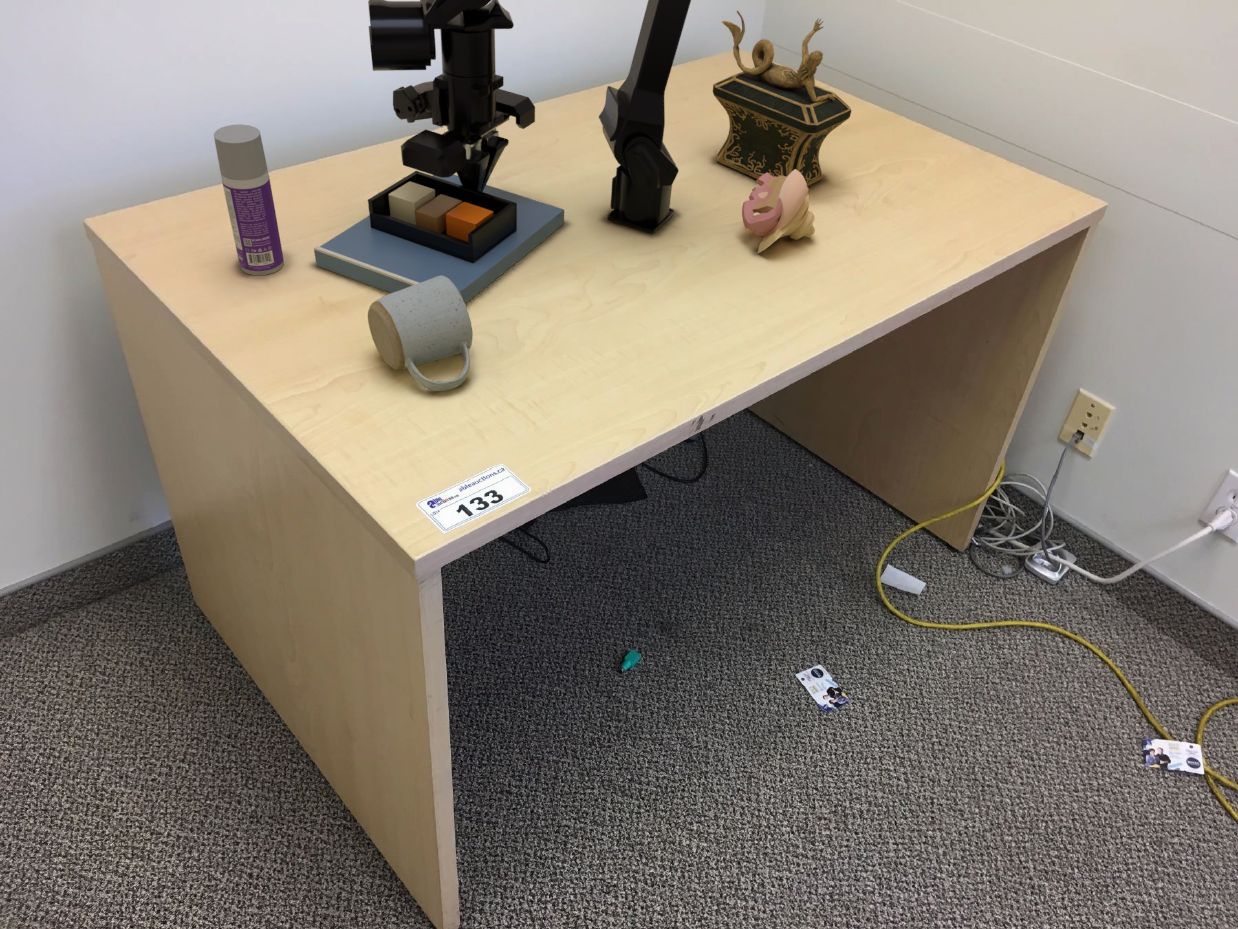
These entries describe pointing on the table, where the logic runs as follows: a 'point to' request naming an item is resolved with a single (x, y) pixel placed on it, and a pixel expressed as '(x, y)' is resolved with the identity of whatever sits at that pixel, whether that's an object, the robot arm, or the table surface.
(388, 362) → the ceramic mug
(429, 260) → the blue flat slab
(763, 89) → the decorative box
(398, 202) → the black open tray
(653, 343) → the table surface
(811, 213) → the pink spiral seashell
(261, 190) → the container
